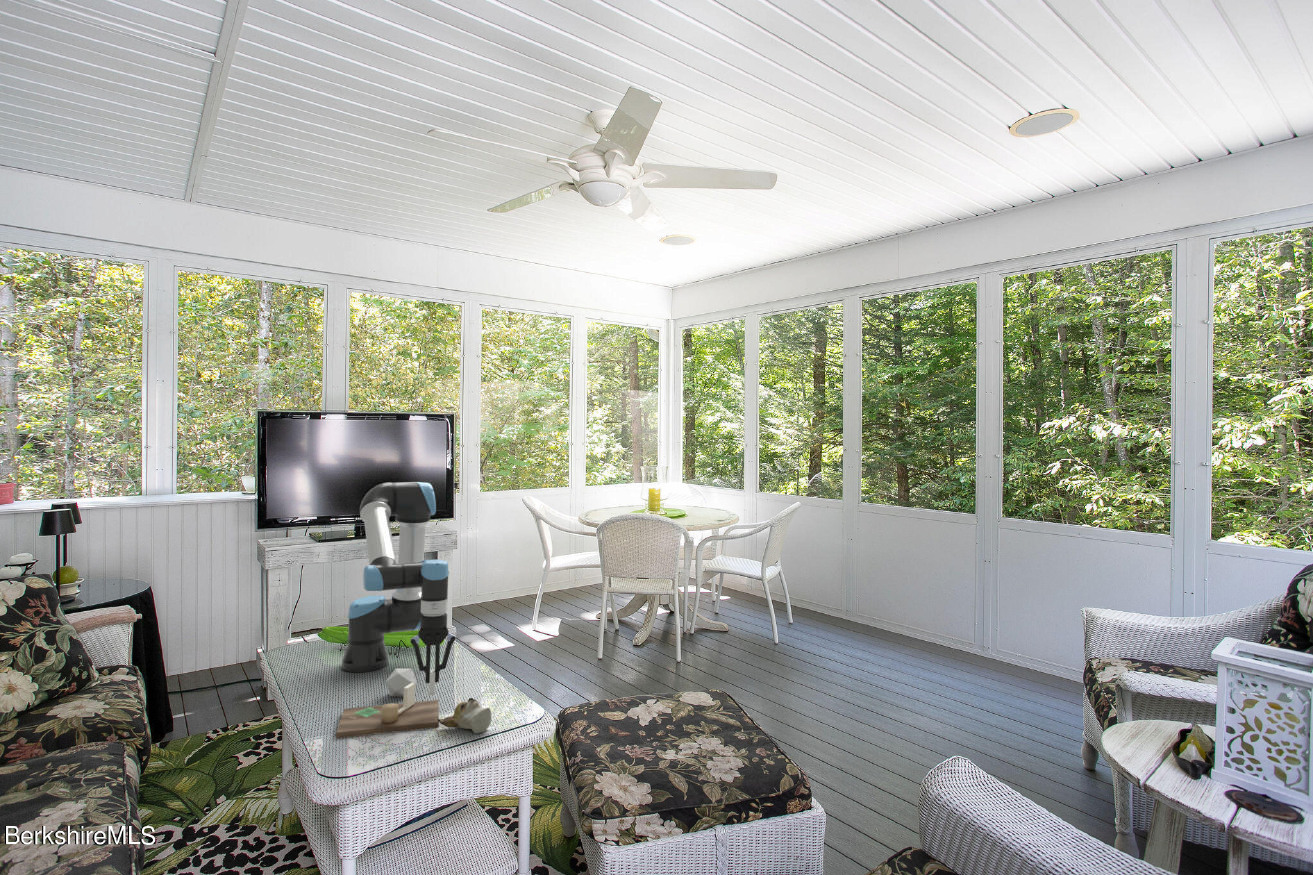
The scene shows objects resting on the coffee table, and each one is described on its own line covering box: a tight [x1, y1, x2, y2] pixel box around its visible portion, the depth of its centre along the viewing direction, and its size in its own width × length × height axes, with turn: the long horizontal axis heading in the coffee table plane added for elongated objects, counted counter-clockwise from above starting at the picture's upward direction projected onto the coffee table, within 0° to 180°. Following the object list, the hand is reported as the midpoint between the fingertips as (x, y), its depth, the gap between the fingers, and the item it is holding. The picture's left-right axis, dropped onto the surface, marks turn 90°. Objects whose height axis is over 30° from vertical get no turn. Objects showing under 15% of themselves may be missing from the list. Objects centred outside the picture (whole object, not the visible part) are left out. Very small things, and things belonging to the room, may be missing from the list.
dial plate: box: [335, 699, 440, 739], centre depth 188 cm, size 16×26×2 cm, turn 109°
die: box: [384, 668, 418, 698], centre depth 206 cm, size 8×9×10 cm
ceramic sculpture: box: [438, 697, 493, 734], centre depth 185 cm, size 11×9×15 cm
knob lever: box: [381, 683, 416, 723], centre depth 189 cm, size 14×4×6 cm, turn 169°
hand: (431, 693), depth 195 cm, fingers closed
